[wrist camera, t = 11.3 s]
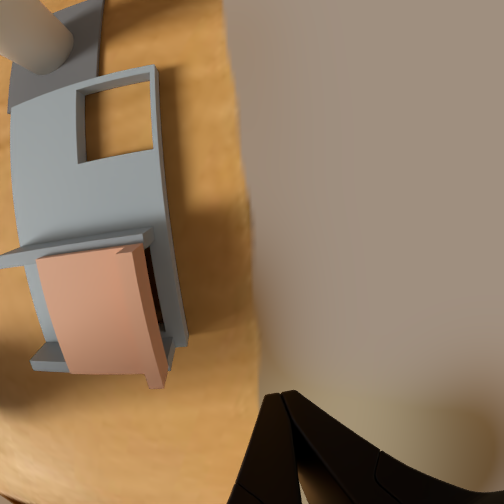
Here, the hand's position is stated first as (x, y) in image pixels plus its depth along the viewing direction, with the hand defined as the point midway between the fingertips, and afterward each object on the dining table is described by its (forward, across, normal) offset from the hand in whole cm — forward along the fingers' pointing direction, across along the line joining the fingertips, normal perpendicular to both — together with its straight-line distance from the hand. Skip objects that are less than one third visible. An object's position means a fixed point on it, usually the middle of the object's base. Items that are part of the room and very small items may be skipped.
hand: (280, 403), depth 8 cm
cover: (+8, +8, 0) cm, 12 cm away
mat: (+13, +12, -18) cm, 25 cm away
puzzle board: (+13, +10, -5) cm, 17 cm away
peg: (+12, +12, -18) cm, 25 cm away
